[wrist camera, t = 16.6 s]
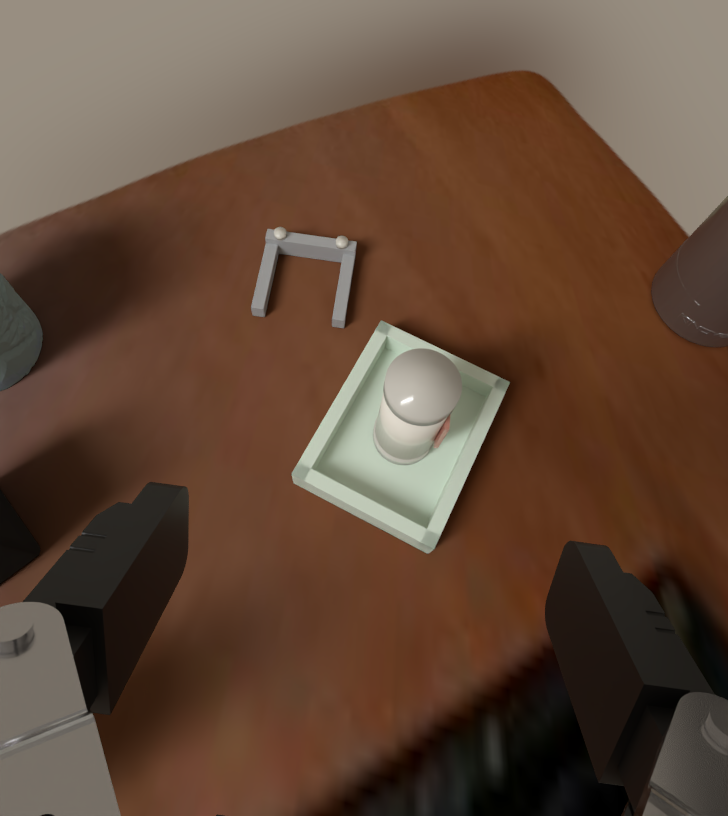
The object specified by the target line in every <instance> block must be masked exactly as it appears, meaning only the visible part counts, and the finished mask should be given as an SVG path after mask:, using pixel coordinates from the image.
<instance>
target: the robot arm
mask: <svg viewBox="0 0 728 816" xmlns="http://www.w3.org/2000/svg"><path fill="white" fill-rule="evenodd" d="M651 292H652V299H653V303H654V305H655V308H656V311H657V312H658V314H659V315H660V317H661V318H662V320H663V321H664V322H665V323H666V324H667V325H668V327H669V328H670V329H672V330H673V331H674V332H675V333H677V334H678V335H679V336H681V337H683V338H685V339H687V340H688V341H690V342H693V343H696V344H699V345H702V346H708V347H725V346H728V196H727V197H726V198H725V199H724V200H723V201H722V203H721V204H720V205H719V206H718V207H717V208H716V209H715V210H714V211H713V212H712V213H711V214H710V215H709V217H708V218H707V219H706V220H705V221H704V222H703V223H702V224H701V225H700V226H699V227H698V228H697V229H696V230H695V231H694V233H693V234H692V235H691V236H690V237H689V238H688V239H687V240H686V241H685V242H684V243H683V244H682V245H681V246H680V247H679V248H678V250H677V251H676V252H675V253H674V254H673V255H672V256H671V257H670V258H669V259H668V260H667V261H666V262H665V264H664V265H663V266H662V267H661V268H660V269H659V270H658V272H657V273H656V274H655V277H654V279H653V282H652V290H651ZM188 513H189V495H188V489H187V488H186V487H184V486H177V485H169V484H162V483H155V482H149V483H148V484H147V485H146V486H145V487H144V488H143V490H142V491H141V492H140V494H139V495H138V496H137V497H136V499H135V500H134V501H133V503H132V504H129V503H121V502H118V503H117V504H115V505H113V506H111V507H110V508H108V509H106V510H105V511H103V512H101V513H99V514H98V515H96V516H95V517H94V519H93V520H92V521H91V522H90V523H89V525H88V526H87V527H86V528H85V529H84V530H83V532H82V535H81V536H78V537H77V539H76V540H75V541H74V542H73V543H72V545H71V546H70V549H69V550H66V552H65V553H64V554H63V555H62V556H61V557H60V559H59V560H58V561H57V562H56V563H55V565H54V566H53V567H52V568H51V569H50V570H49V572H48V573H47V574H46V575H45V576H44V577H43V579H42V580H41V581H40V582H39V583H38V584H37V586H36V587H35V588H34V589H33V590H32V592H31V593H30V594H29V595H28V596H27V597H26V599H25V600H24V601H23V602H21V603H15V604H10V605H6V606H3V607H0V816H121V815H120V812H119V808H118V804H117V800H116V797H115V793H114V789H113V785H112V782H111V778H110V774H109V771H108V767H107V763H106V759H105V756H104V752H103V748H102V744H101V741H100V737H99V733H98V729H97V726H96V722H95V719H94V716H93V713H99V714H107V715H110V714H111V712H112V710H113V708H114V706H115V705H116V703H117V701H118V699H119V697H120V695H121V693H122V691H123V689H124V687H125V685H126V683H127V681H128V679H129V677H130V675H131V673H132V672H133V670H134V668H135V666H136V664H137V662H138V660H139V658H140V656H141V654H142V652H143V650H144V648H145V646H146V644H147V642H148V640H149V639H150V637H151V635H152V633H153V631H154V629H155V627H156V625H157V623H158V621H159V619H160V617H161V615H162V613H163V611H164V609H165V607H166V606H167V604H168V602H169V600H170V598H171V596H172V594H173V592H174V590H175V588H176V586H177V584H178V582H179V580H180V578H181V576H182V574H183V571H184V568H185V564H186V560H187V554H188ZM664 614H665V613H664V611H663V610H662V608H661V606H660V605H659V603H658V601H657V600H656V598H655V596H654V595H653V593H652V592H651V591H650V590H649V589H648V588H647V587H645V586H644V585H643V584H642V583H641V582H640V581H639V580H638V579H637V578H636V577H635V576H633V575H632V574H630V573H623V571H622V569H621V568H620V566H619V564H618V562H617V561H616V559H615V557H614V555H613V554H612V552H611V550H610V549H609V548H608V547H607V546H604V545H597V544H590V543H583V542H575V541H569V542H567V543H566V545H565V546H564V549H563V551H562V554H561V557H560V560H559V563H558V566H557V569H556V572H555V575H554V578H553V581H552V584H551V587H550V590H549V593H548V596H547V600H546V606H545V620H546V626H547V630H548V633H549V636H550V639H551V642H552V645H553V648H554V651H555V654H556V657H557V660H558V663H559V666H560V669H561V672H562V675H563V678H564V681H565V684H566V687H567V690H568V693H569V696H570V699H571V702H572V705H573V708H574V711H575V714H576V716H577V719H578V722H579V725H580V728H581V731H582V734H583V737H584V740H585V743H586V746H587V749H588V752H589V755H590V758H591V761H592V764H593V767H594V770H595V773H596V776H597V779H598V782H599V783H607V784H614V785H622V786H625V789H626V791H627V794H628V797H629V801H628V803H627V805H626V807H625V809H624V811H623V813H622V816H728V700H726V699H724V698H721V697H719V696H716V695H714V693H713V691H712V690H711V688H710V686H709V685H708V683H707V681H706V680H705V678H704V677H703V675H702V673H701V672H700V670H699V668H698V667H697V665H696V663H695V662H694V660H693V659H692V657H691V655H690V654H689V652H688V650H687V649H686V647H685V645H684V644H683V642H682V641H681V639H680V637H679V636H678V635H677V634H675V629H674V628H673V626H672V624H671V623H670V621H669V619H668V618H667V617H665V616H664ZM216 816H223V815H216Z"/></svg>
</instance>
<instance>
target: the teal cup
mask: <svg viewBox="0 0 728 816" xmlns="http://www.w3.org/2000/svg"><path fill="white" fill-rule="evenodd" d="M42 335H43V333H42V328H41V325H40V323H39V320H38V319H37V317H36V315H35V314H34V313H33V311H32V310H31V309H30V308H29V306H28V305H27V304H26V303H25V302H24V301H23V300H22V299H21V297H20V296H19V295H18V294H17V293H16V292H15V291H14V289H13V287H12V286H11V285H10V284H9V282H8V281H7V280H6V279H5V277H4V276H3V275H2V274H0V391H2V390H5V389H8V388H9V387H11V386H12V385H14V384H15V383H17V382H18V381H20V380H21V379H22V378H23V377H24V376H25V375H28V373H29V372H30V370H31V367H33V366H34V365H35V362H36V361H37V360H38V356H39V354H40V351H41V347H42V340H43V337H42Z"/></svg>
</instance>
